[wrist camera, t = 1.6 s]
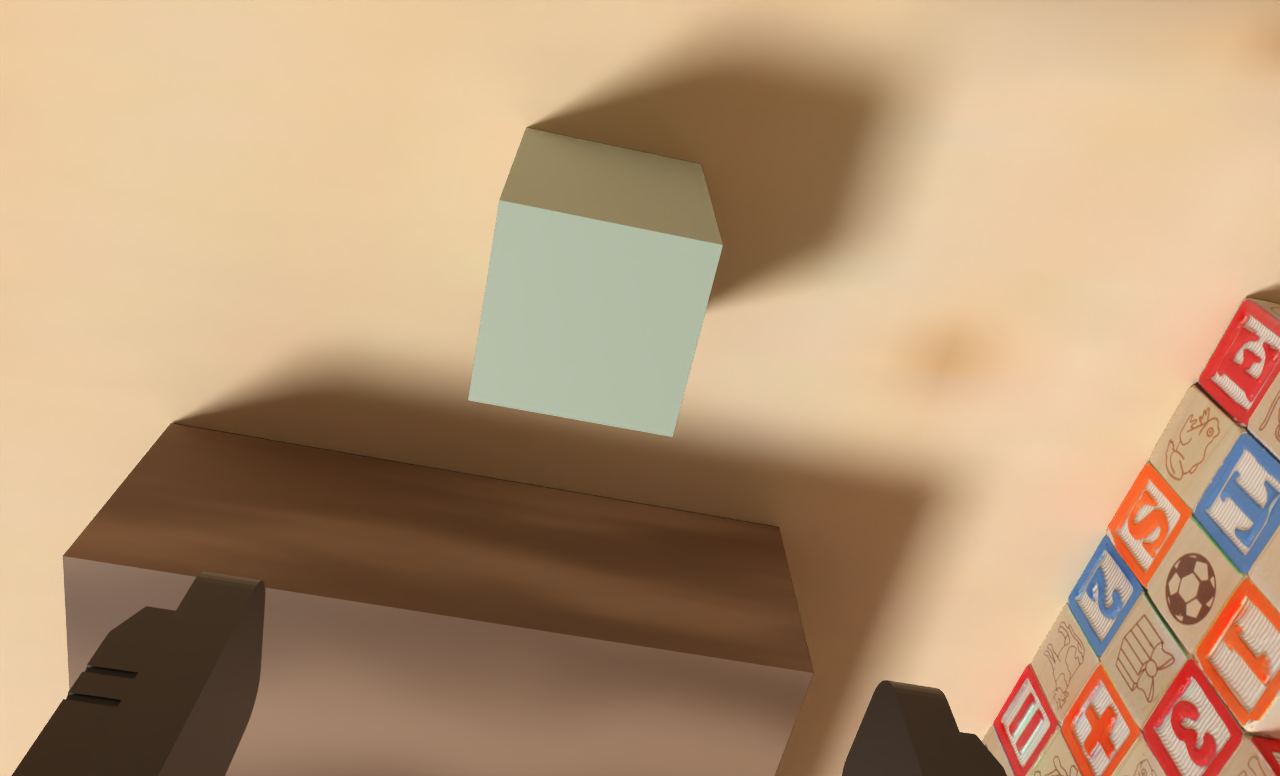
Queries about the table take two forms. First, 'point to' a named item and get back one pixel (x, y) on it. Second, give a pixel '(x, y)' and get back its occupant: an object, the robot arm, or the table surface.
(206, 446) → the block
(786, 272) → the table surface
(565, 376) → the sage block
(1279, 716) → the stack of blocks
